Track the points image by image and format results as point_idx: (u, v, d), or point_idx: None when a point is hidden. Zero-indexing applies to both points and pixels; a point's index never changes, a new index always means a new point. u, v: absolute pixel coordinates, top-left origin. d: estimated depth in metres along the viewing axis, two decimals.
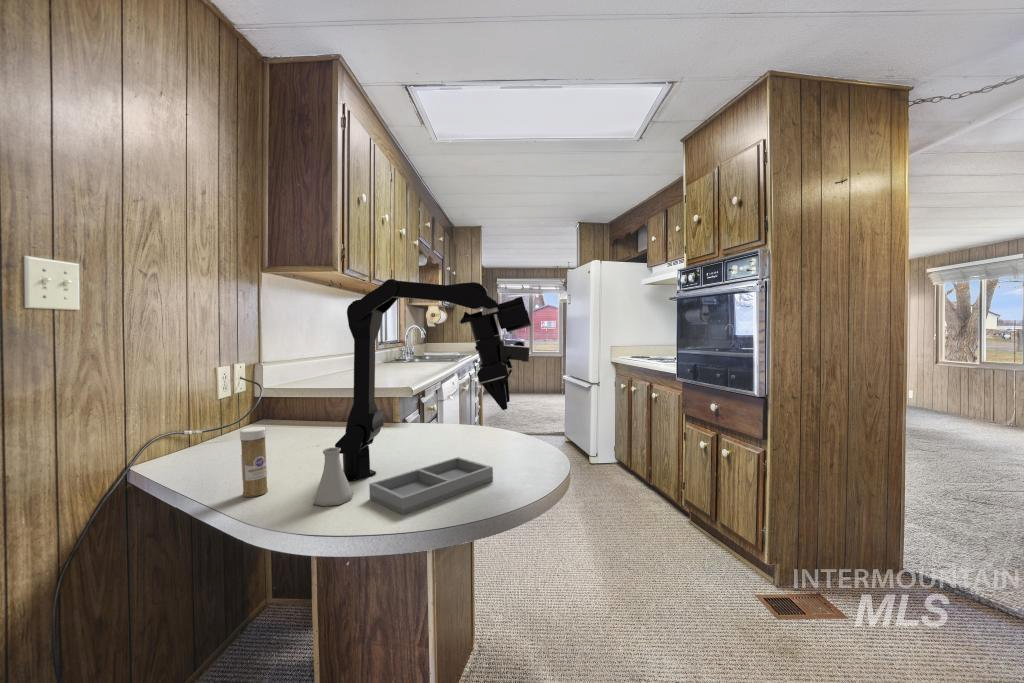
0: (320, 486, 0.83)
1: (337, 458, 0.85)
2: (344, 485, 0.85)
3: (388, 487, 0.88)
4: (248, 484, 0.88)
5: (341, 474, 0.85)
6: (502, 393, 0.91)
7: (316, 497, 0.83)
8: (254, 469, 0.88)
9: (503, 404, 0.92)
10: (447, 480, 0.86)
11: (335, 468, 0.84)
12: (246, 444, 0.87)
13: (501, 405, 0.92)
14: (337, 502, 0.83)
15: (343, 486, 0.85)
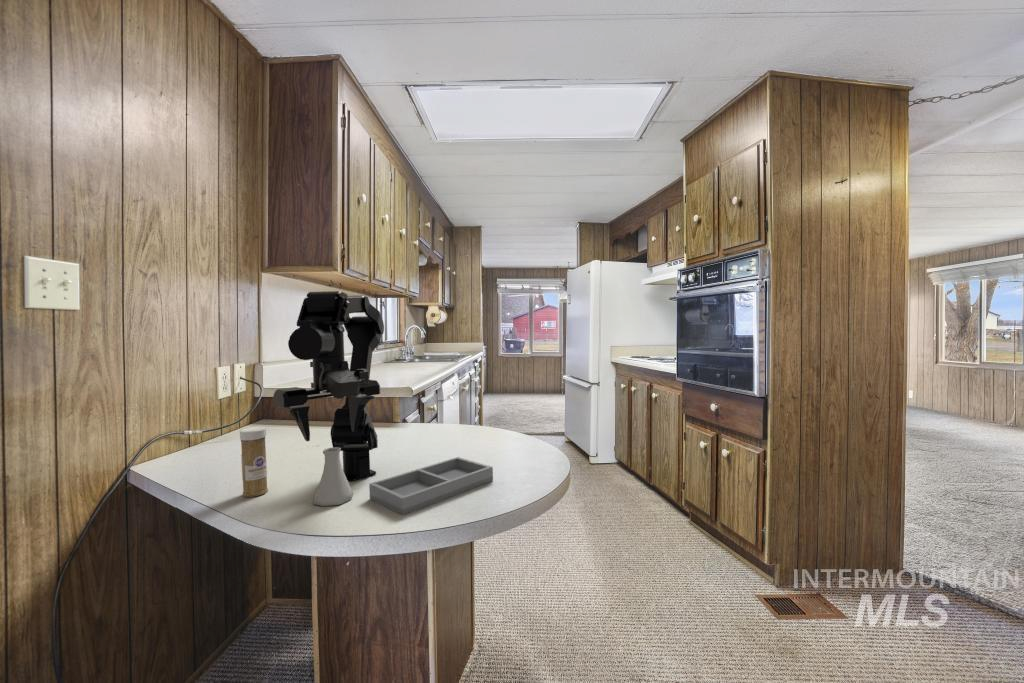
0: (320, 486, 0.83)
1: (337, 458, 0.85)
2: (344, 485, 0.85)
3: (388, 487, 0.88)
4: (248, 484, 0.88)
5: (341, 474, 0.85)
6: (301, 423, 0.80)
7: (316, 497, 0.83)
8: (254, 469, 0.88)
9: (304, 435, 0.81)
10: (447, 480, 0.86)
11: (335, 468, 0.84)
12: (246, 444, 0.87)
13: (303, 435, 0.82)
14: (337, 502, 0.83)
15: (343, 486, 0.85)
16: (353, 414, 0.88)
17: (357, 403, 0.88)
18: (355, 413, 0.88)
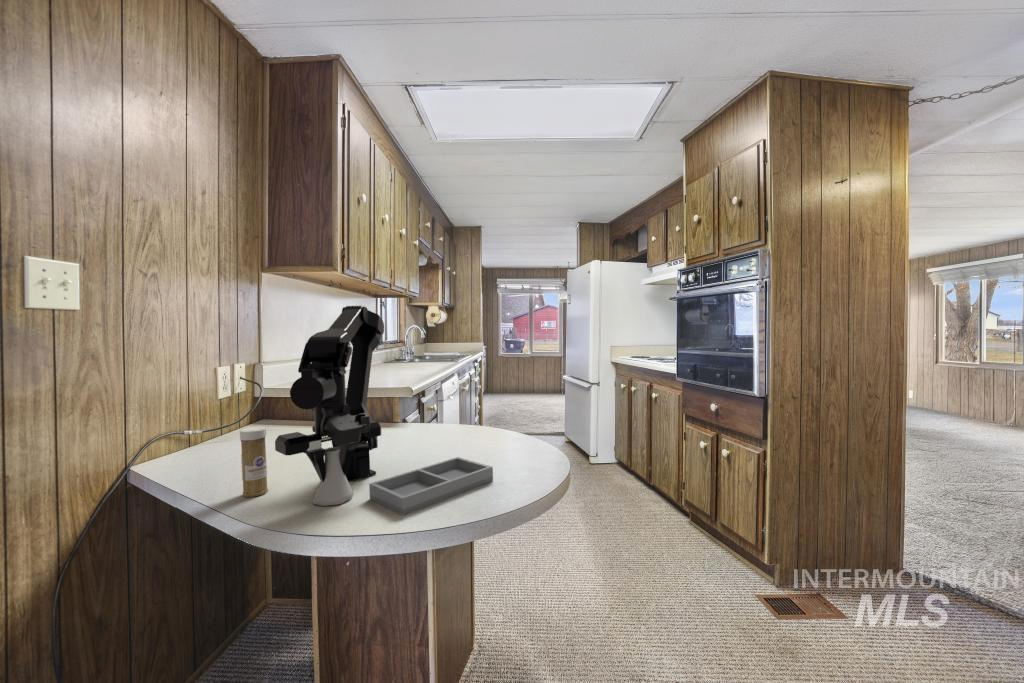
0: (320, 486, 0.83)
1: (337, 458, 0.85)
2: (343, 485, 0.85)
3: (388, 487, 0.88)
4: (248, 484, 0.88)
5: (341, 474, 0.85)
6: (317, 465, 0.83)
7: (316, 497, 0.83)
8: (254, 469, 0.88)
9: (320, 476, 0.83)
10: (447, 480, 0.86)
11: (335, 467, 0.84)
12: (246, 444, 0.87)
13: (319, 476, 0.84)
14: (337, 502, 0.83)
15: (343, 486, 0.85)
16: (342, 459, 0.87)
17: (345, 448, 0.86)
18: (343, 458, 0.86)
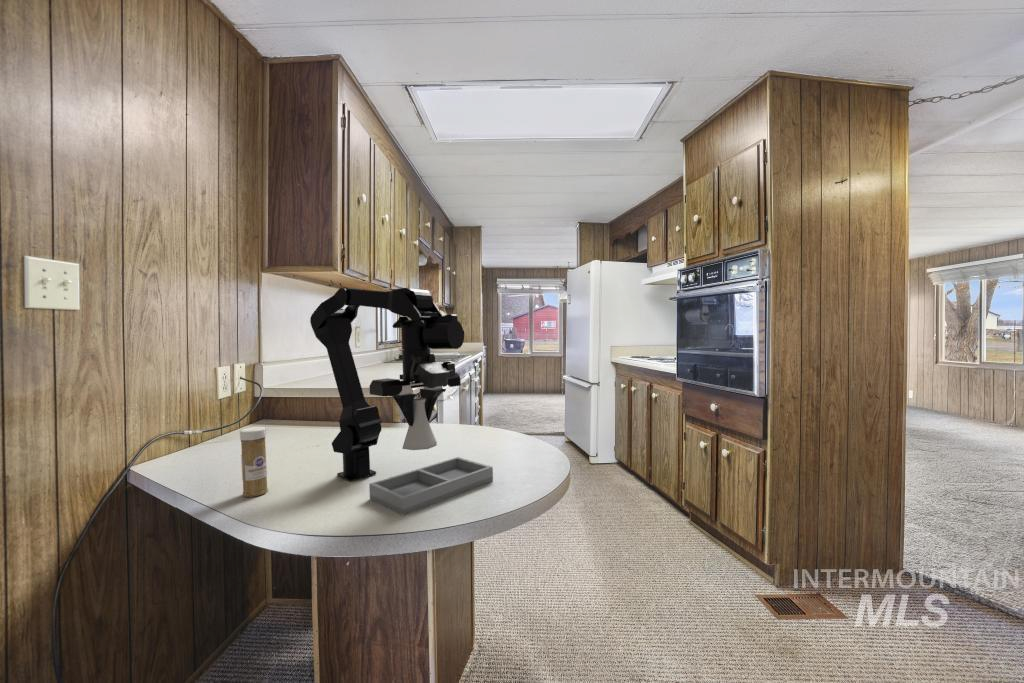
0: (408, 432, 0.89)
1: (423, 407, 0.90)
2: (429, 432, 0.90)
3: (388, 487, 0.88)
4: (248, 484, 0.88)
5: (427, 422, 0.90)
6: (406, 410, 0.88)
7: (405, 442, 0.88)
8: (254, 469, 0.88)
9: (408, 420, 0.89)
10: (447, 480, 0.86)
11: (422, 415, 0.89)
12: (246, 444, 0.87)
13: (407, 421, 0.89)
14: (425, 447, 0.88)
15: (429, 433, 0.90)
16: (426, 406, 0.92)
17: (430, 395, 0.91)
18: (428, 405, 0.91)
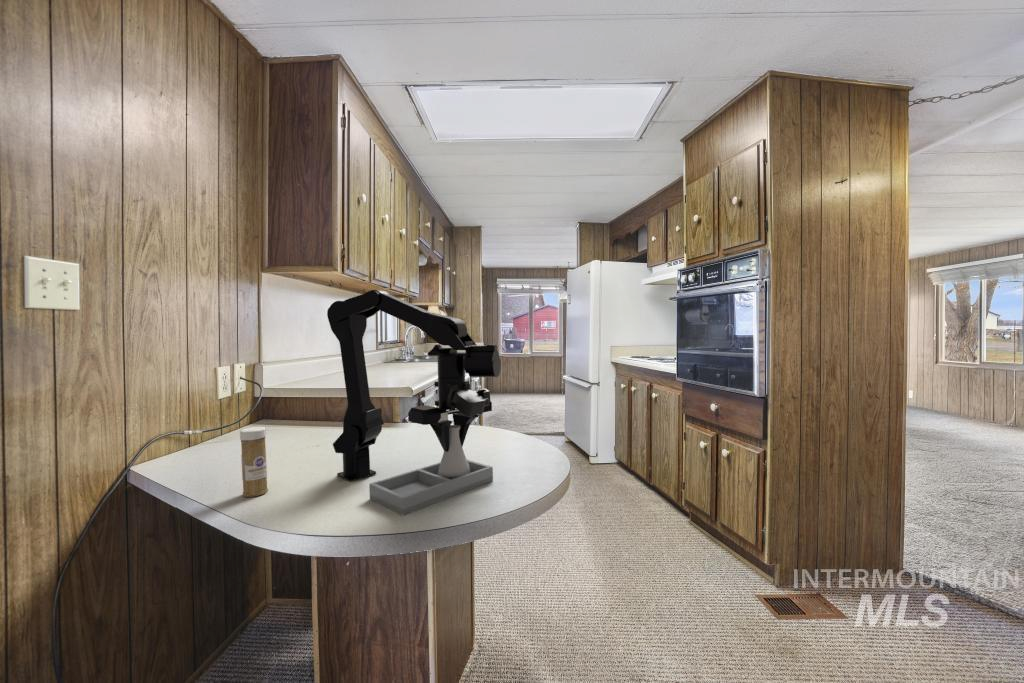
0: (444, 459, 0.92)
1: (458, 434, 0.93)
2: (464, 459, 0.93)
3: (388, 487, 0.88)
4: (248, 484, 0.88)
5: (461, 449, 0.93)
6: (442, 436, 0.91)
7: (440, 469, 0.91)
8: (254, 469, 0.88)
9: (444, 446, 0.92)
10: (447, 480, 0.86)
11: (456, 443, 0.92)
12: (246, 444, 0.87)
13: (442, 446, 0.92)
14: (460, 474, 0.90)
15: (464, 460, 0.92)
16: (460, 431, 0.95)
17: (464, 421, 0.94)
18: (462, 430, 0.94)
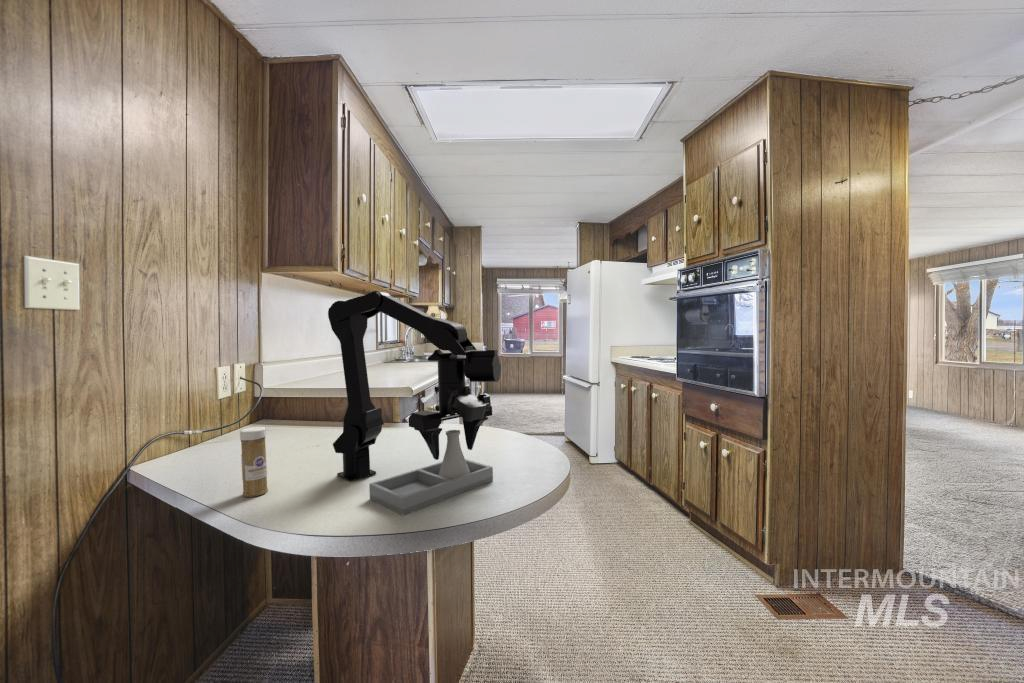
0: (444, 464, 0.92)
1: (458, 439, 0.93)
2: (464, 464, 0.93)
3: (388, 487, 0.88)
4: (248, 484, 0.88)
5: (461, 454, 0.93)
6: (432, 443, 0.89)
7: (440, 474, 0.91)
8: (254, 469, 0.88)
9: (434, 454, 0.90)
10: (447, 480, 0.86)
11: (456, 448, 0.92)
12: (246, 444, 0.87)
13: (432, 454, 0.90)
14: None
15: (464, 465, 0.92)
16: (469, 434, 0.97)
17: (474, 424, 0.96)
18: (471, 433, 0.96)
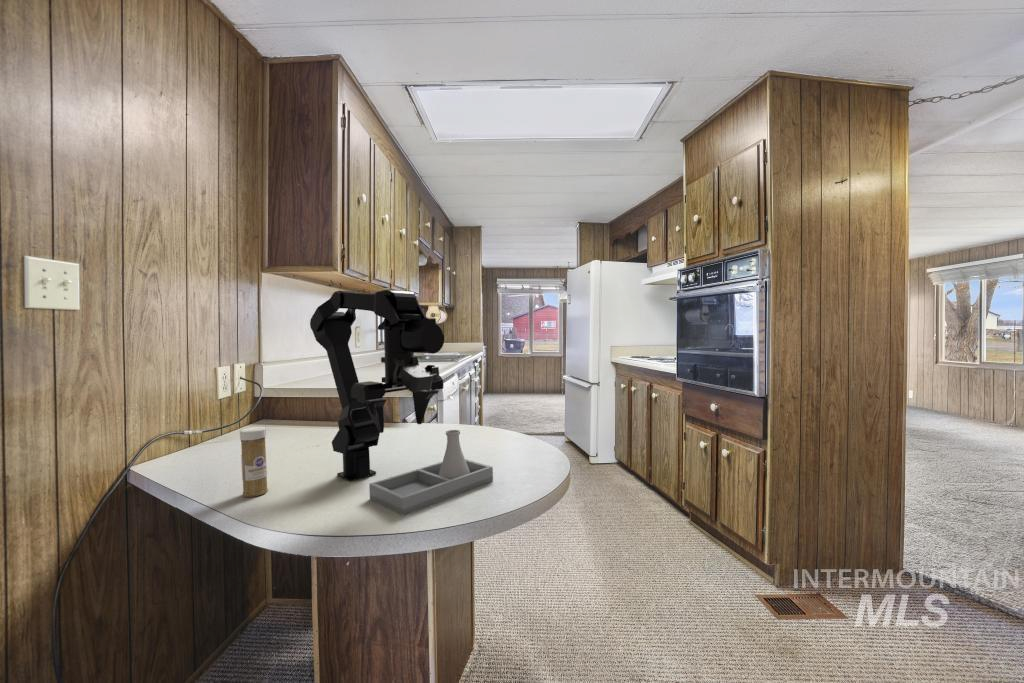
0: (444, 464, 0.92)
1: (458, 439, 0.93)
2: (464, 464, 0.93)
3: (388, 487, 0.88)
4: (248, 484, 0.88)
5: (461, 454, 0.93)
6: (376, 415, 0.85)
7: (440, 474, 0.91)
8: (254, 469, 0.88)
9: (378, 427, 0.86)
10: (447, 480, 0.86)
11: (456, 448, 0.92)
12: (246, 444, 0.87)
13: (377, 427, 0.86)
14: None
15: (464, 465, 0.92)
16: (419, 407, 0.93)
17: (423, 397, 0.92)
18: (421, 406, 0.92)
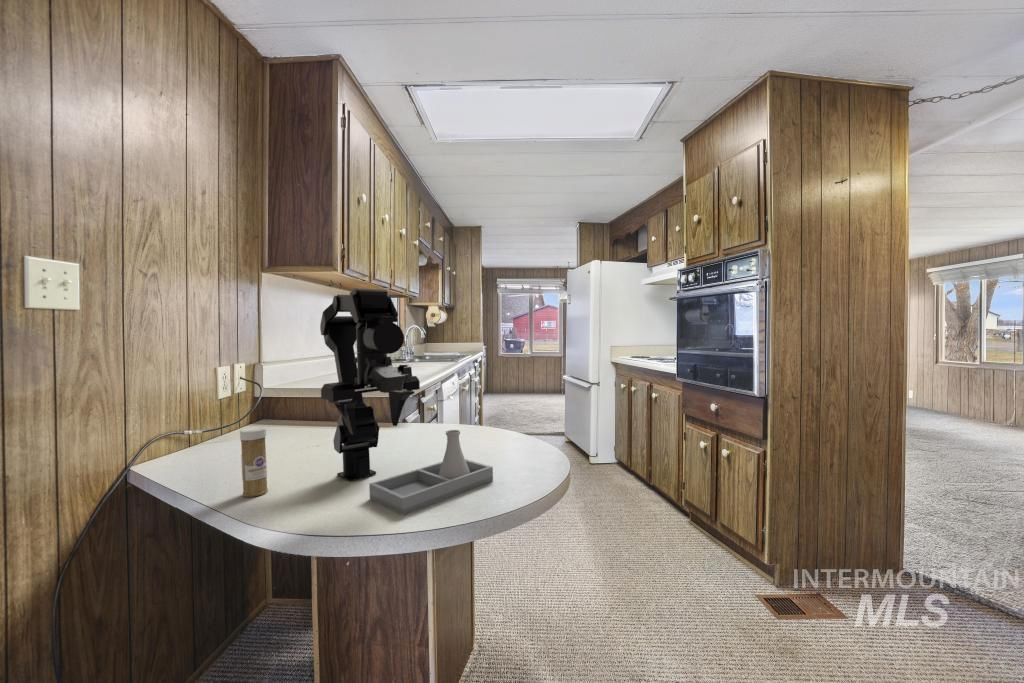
0: (444, 464, 0.92)
1: (458, 439, 0.93)
2: (464, 464, 0.93)
3: (388, 487, 0.88)
4: (248, 484, 0.88)
5: (461, 454, 0.93)
6: (347, 417, 0.83)
7: (440, 474, 0.91)
8: (254, 469, 0.88)
9: (350, 428, 0.84)
10: (447, 480, 0.86)
11: (456, 448, 0.92)
12: (246, 444, 0.87)
13: (349, 428, 0.84)
14: None
15: (464, 465, 0.92)
16: (394, 409, 0.91)
17: (398, 398, 0.90)
18: (396, 408, 0.90)
